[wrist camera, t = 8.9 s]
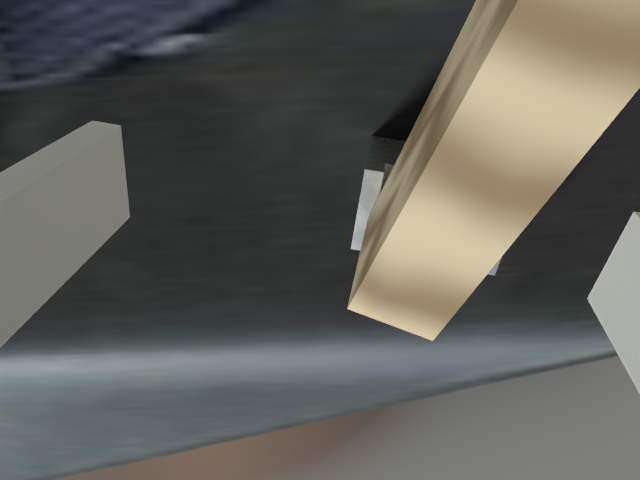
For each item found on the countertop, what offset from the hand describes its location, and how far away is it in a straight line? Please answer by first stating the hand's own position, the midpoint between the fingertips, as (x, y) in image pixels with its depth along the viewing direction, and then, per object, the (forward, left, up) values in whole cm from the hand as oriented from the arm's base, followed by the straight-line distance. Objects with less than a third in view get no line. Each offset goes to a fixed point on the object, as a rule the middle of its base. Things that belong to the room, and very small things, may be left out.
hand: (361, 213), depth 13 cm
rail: (+5, 0, -15) cm, 16 cm away
